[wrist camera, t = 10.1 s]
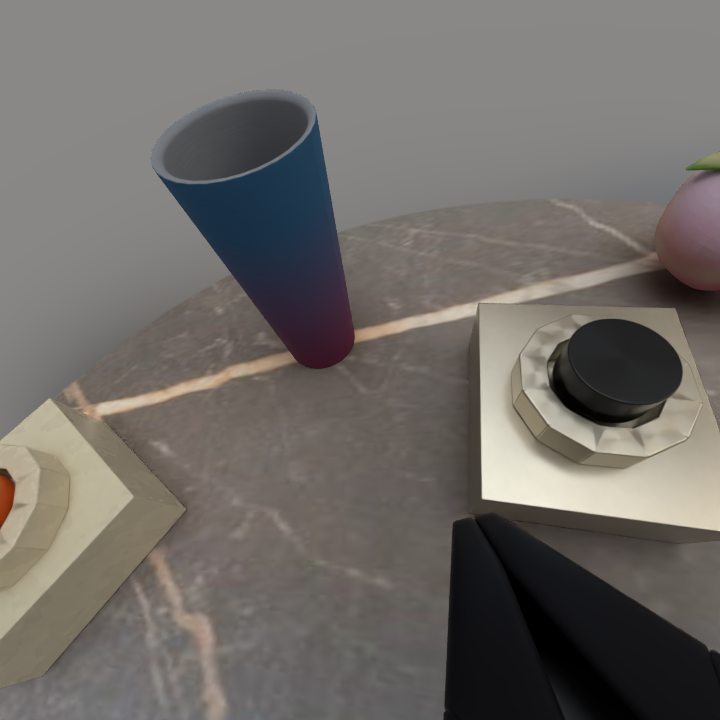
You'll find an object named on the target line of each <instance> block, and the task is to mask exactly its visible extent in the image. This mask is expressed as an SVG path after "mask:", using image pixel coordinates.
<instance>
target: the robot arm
mask: <svg viewBox="0 0 720 720" xmlns="http://www.w3.org/2000/svg"><path fill="white" fill-rule="evenodd" d="M445 710H446V711H445V712H444V720H720V654H719V653H718V652H716V651H714V650H711V651H708V648H707V646H706V645H705V644H703V643H702V642H700V641H698V640H697V639H695V638H694V637H692V636H691V635H689V634H687V633H686V632H684V631H683V630H681V629H679V628H678V627H676V626H675V625H673V624H672V623H670V622H668V621H667V620H665V619H664V618H662V617H660V616H659V615H657V614H656V613H654V612H652V611H651V610H649V609H648V608H646V607H645V606H643V605H641V604H640V603H638V602H637V601H635V600H633V599H632V598H630V597H629V596H627V595H626V594H624V593H622V592H621V591H619V590H618V589H616V588H614V587H613V586H611V585H610V584H608V583H607V582H605V581H603V580H602V579H600V578H599V577H597V576H595V575H594V574H592V573H591V572H589V571H588V570H586V569H584V568H583V567H581V566H580V565H578V564H576V563H575V562H573V561H572V560H570V559H569V558H567V557H565V556H564V555H562V554H561V553H559V552H557V551H556V550H554V549H553V548H551V547H550V546H548V545H546V544H545V543H543V542H542V541H540V540H538V539H537V538H535V537H534V536H532V535H530V534H529V533H527V532H526V531H524V530H523V529H521V528H519V527H518V526H516V525H515V524H513V523H511V522H510V521H508V520H507V519H505V518H504V517H502V516H500V515H499V514H497V513H495V512H490V513H486V514H482V515H478V516H476V517H475V519H473V518H471V517H470V518H465V519H461V520H457V521H455V522H454V523H453V531H452V553H451V574H450V596H449V618H448V640H447V662H446V684H445Z"/></svg>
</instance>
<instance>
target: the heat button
mask: <svg viewBox="0 0 720 720" xmlns="http://www.w3.org/2000/svg"><path fill="white" fill-rule="evenodd" d="M552 375H553V382H554V385H555V388H556V390H557V392H558V393H559V395H560V396H561V398H562V399H563V400H564V401H565V402H566V403H567V404H568V405H569V406H570V407H571V408H572V409H574V410H575V411H577V412H578V413H580V414H582V415H584V416H586V417H588V418H590V419H593V420H596V421H600V422H606V423H625V422H630V421H633V420H635V419H637V418H639V417H641V416H643V415H644V414H645V413H647V412H648V411H650V410H651V409H653V408H654V407H656V406H657V405H659V404H660V403H662V402H663V401H665V400H666V399H668V398H669V397H670V396H672V395H673V394H674V393H675V392H676V391H677V390H678V388H679V386H680V384H681V381H682V377H683V367H682V363H681V360H680V358H679V355H678V354H677V352H676V350H675V349H674V348H673V346H672V345H671V344H670V343H669V342H668V341H667V340H666V339H665V338H664V337H662V336H661V335H660V334H658V333H657V332H655V331H654V330H652V329H650V328H648V327H646V326H644V325H641V324H639V323H636V322H632V321H628V320H623V319H600V320H595V321H592V322H589V323H587V324H585V325H583V326H581V327H580V328H578V329H577V330H576V331H575V332H574V334H573V335H572V336H571V338H570V339H569V341H568V342H567V344H566V345H565V347H564V348H563V350H562V351H561V353H560V354H559V356H558V357H557V359H556V361H555V363H554V366H553V372H552Z"/></svg>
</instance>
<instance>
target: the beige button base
mask: <svg viewBox="0 0 720 720" xmlns="http://www.w3.org/2000/svg"><path fill="white" fill-rule="evenodd" d="M600 319H623V320H628V321H632V322H636V323H639V324H641V325H644V326H646V327H648V328H650V329H652V330H654V331H655V332H657V333H658V334H660V335H661V336H662V337H664V338H665V339H666V340H667V341H668V342H669V343H670V344H671V345H672V346H673V348H674V349H675V350H676V352H677V354H678V355H679V358H680V360H681V363H682V367H683V377H682V381H681V384H680V386H679V388H678V390H677V391H676V392H675V393H674V394H673V395H672V396H670V397H669V398H668V399H666V400H665V401H663V402H662V403H660V404H659V405H657V406H656V407H654V408H653V409H651V410H650V411H648V412H647V413H645V414H644V415H643V416H641V417H639V418H637V419H635V420H633V421H630V422H625V423H606V422H600V421H596V420H593V419H590V418H588V417H586V416H584V415H582V414H580V413H578V412H577V411H575V410H574V409H572V408H571V407H570V406H569V405H568V404H567V403H566V402H565V401H564V400H563V399H562V398H561V396H560V395H559V393H558V392H557V390H556V388H555V385H554V382H553V375H552V372H553V366H554V363H555V361H556V359H557V357H558V356H559V354H560V353H561V351H562V350H563V348H564V347H565V345H566V344H567V342H568V341H569V339H570V338H571V336H572V335H573V334H574V332H575V331H576V330H577V329H578V328H580V327H581V326H583V325H585V324H587V323H589V322H592V321H595V320H600ZM468 512H469V514H476V515H482V514H486V513H490V512H495V513H497V514H499V515H500V516H502V517H504V518H505V519H510V520H517V521H524V522H531V523H538V524H545V525H552V526H559V527H565V528H572V529H579V530H586V531H593V532H600V533H607V534H614V535H621V536H627V537H634V538H641V539H648V540H655V541H662V542H669V543H676V544H685V543H697V542H709V541H720V430H719V427H718V425H717V422H716V419H715V416H714V414H713V411H712V408H711V405H710V402H709V400H708V397H707V394H706V391H705V389H704V386H703V383H702V380H701V378H700V375H699V372H698V369H697V367H696V364H695V361H694V358H693V356H692V353H691V350H690V347H689V344H688V342H687V339H686V336H685V333H684V331H683V328H682V325H681V322H680V320H679V317H678V314H677V311H676V309H675V308H653V307H614V306H575V305H536V304H496V303H479V304H478V308H477V312H476V316H475V321H474V325H473V330H472V334H471V339H470V343H469V488H468Z"/></svg>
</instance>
